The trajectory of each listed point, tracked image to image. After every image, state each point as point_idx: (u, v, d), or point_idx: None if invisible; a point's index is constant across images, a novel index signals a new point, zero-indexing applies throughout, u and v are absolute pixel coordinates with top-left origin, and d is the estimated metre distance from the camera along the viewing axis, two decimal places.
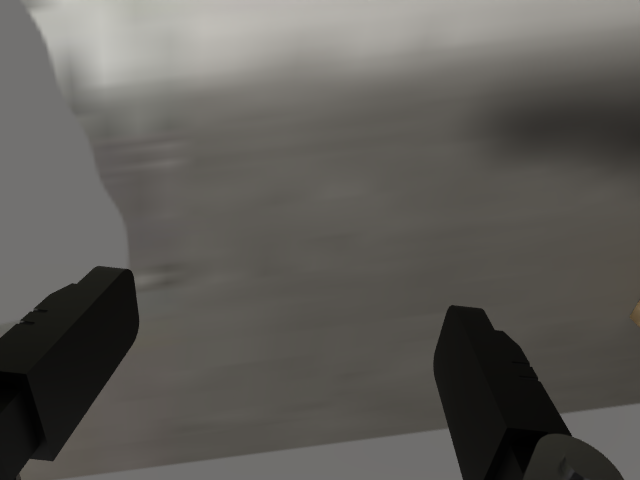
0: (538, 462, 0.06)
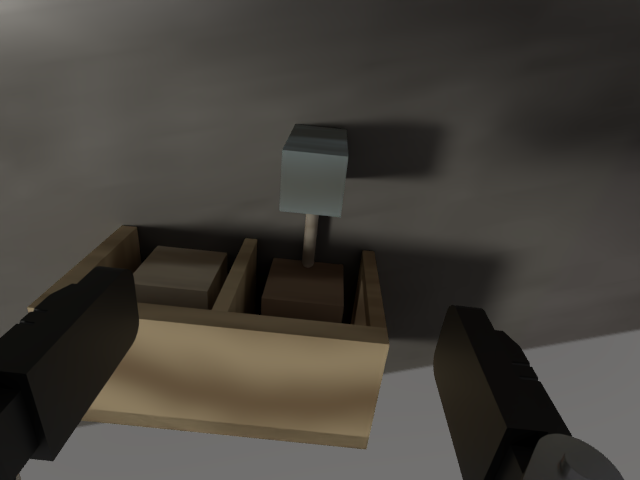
0: (538, 462, 0.06)
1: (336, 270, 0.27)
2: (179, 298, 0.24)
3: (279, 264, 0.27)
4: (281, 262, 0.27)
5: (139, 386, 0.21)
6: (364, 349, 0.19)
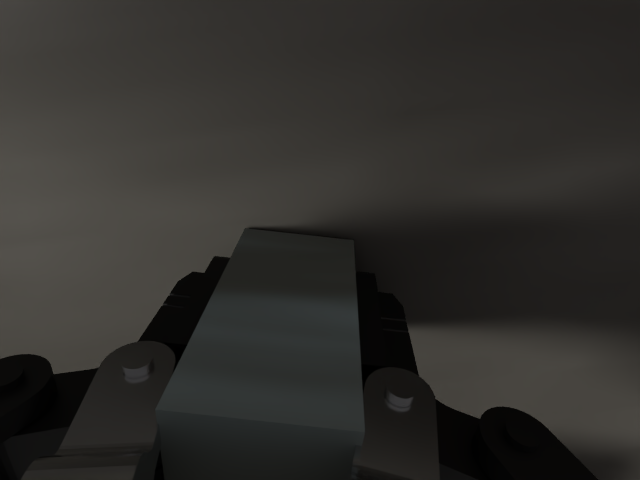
0: (364, 387, 0.07)
1: None
2: None
3: None
4: None
5: None
6: None
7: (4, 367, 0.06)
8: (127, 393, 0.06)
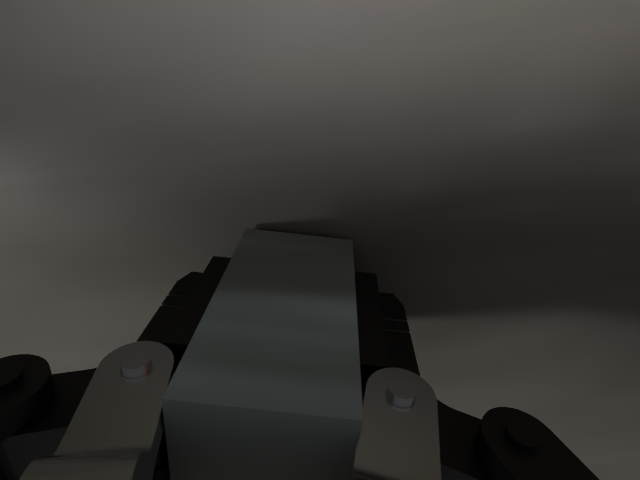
0: (366, 387, 0.07)
1: None
2: None
3: None
4: None
5: None
6: None
7: (2, 367, 0.06)
8: (126, 394, 0.06)
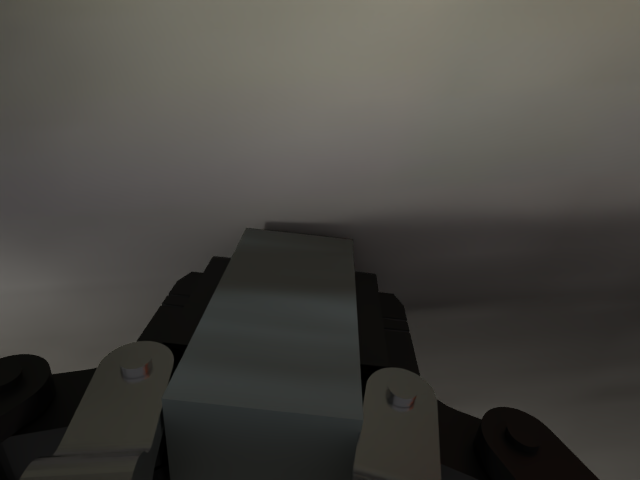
0: (366, 387, 0.07)
1: None
2: None
3: None
4: None
5: None
6: None
7: (3, 366, 0.06)
8: (127, 394, 0.06)
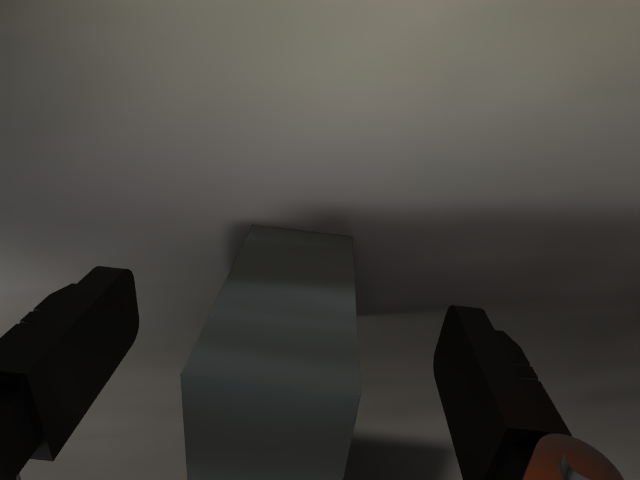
0: (538, 462, 0.06)
1: None
2: None
3: None
4: None
5: None
6: None
7: None
8: None
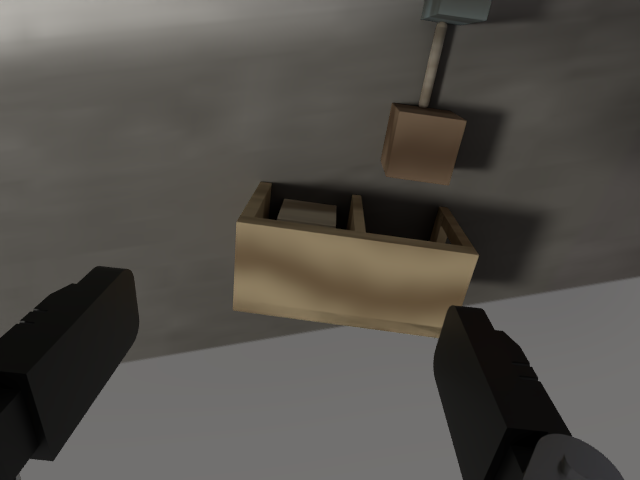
0: (538, 462, 0.06)
1: (447, 111, 0.32)
2: None
3: (399, 105, 0.32)
4: (400, 104, 0.32)
5: (298, 285, 0.30)
6: (461, 258, 0.28)
7: None
8: None
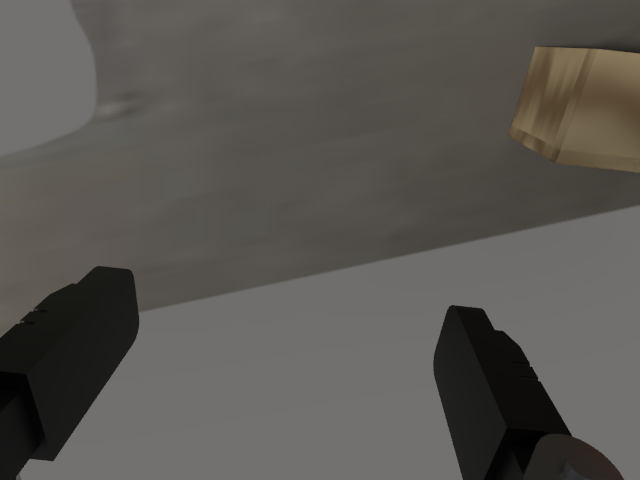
0: (538, 462, 0.06)
1: None
2: None
3: None
4: None
5: None
6: None
7: None
8: None
